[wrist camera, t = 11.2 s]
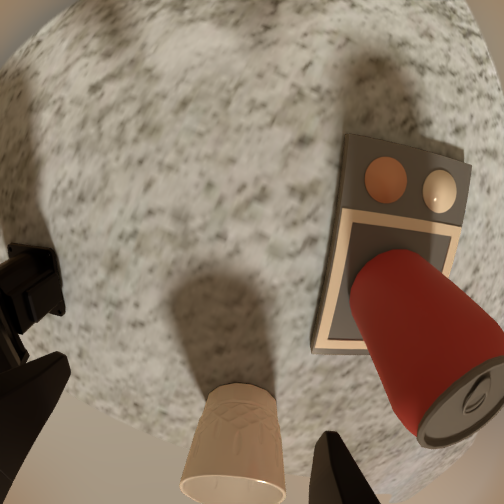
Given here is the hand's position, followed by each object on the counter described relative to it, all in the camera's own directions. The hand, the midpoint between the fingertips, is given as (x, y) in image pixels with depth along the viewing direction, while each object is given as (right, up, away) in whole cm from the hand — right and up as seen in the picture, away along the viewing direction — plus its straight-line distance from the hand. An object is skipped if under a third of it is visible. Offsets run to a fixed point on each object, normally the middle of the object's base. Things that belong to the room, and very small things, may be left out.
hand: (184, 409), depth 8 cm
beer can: (+12, +2, +12) cm, 17 cm away
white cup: (+1, -10, +17) cm, 20 cm away
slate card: (+12, +4, +12) cm, 18 cm away
